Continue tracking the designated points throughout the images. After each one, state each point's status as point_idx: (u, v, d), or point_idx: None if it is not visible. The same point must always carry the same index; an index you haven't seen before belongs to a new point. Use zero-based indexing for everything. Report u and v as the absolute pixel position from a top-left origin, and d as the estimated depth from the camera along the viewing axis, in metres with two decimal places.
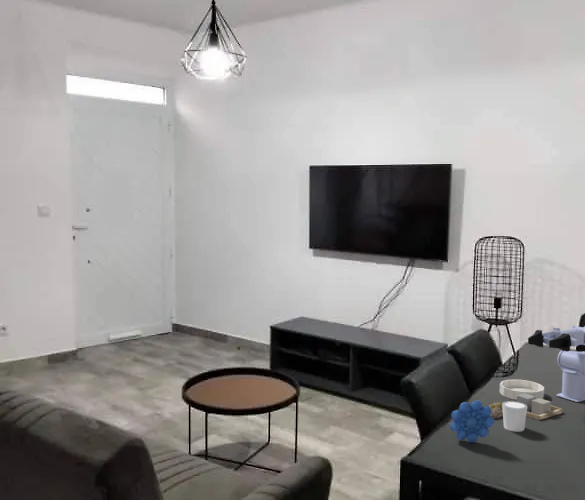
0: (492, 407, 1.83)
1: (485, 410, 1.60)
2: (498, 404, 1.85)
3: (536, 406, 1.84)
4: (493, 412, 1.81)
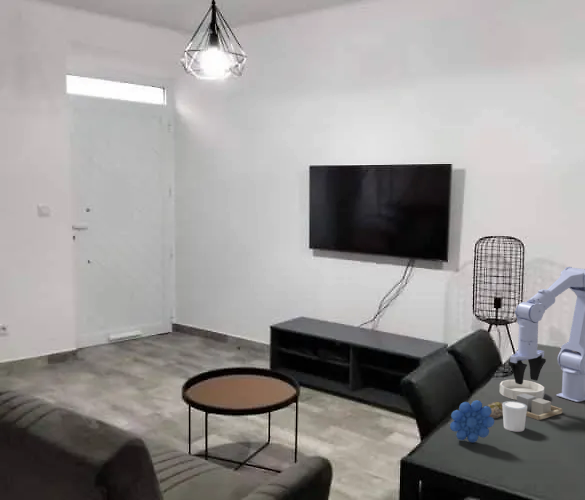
0: (491, 407, 1.84)
1: (485, 410, 1.60)
2: (497, 404, 1.85)
3: (536, 406, 1.84)
4: (492, 412, 1.81)
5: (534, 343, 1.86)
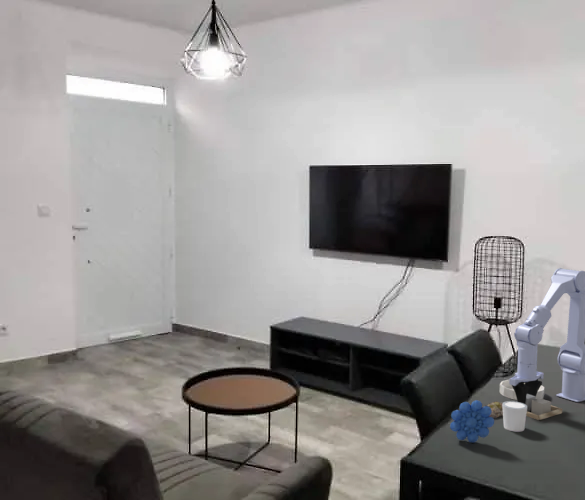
0: (490, 407, 1.84)
1: (485, 410, 1.60)
2: (496, 404, 1.85)
3: (536, 406, 1.84)
4: (491, 412, 1.81)
5: (533, 365, 1.86)
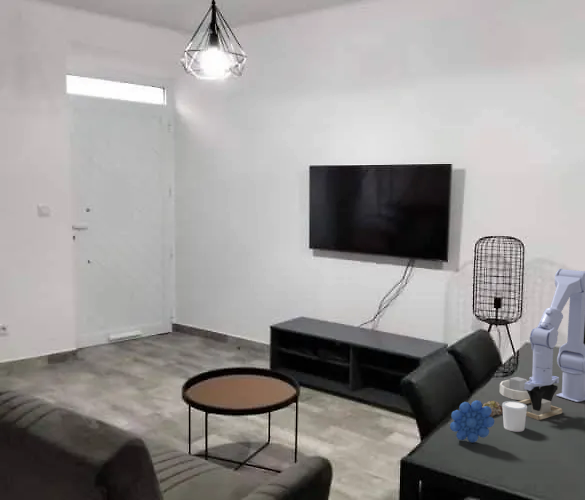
0: None
1: (485, 410, 1.60)
2: (492, 403, 1.86)
3: None
4: None
5: (549, 370, 1.81)
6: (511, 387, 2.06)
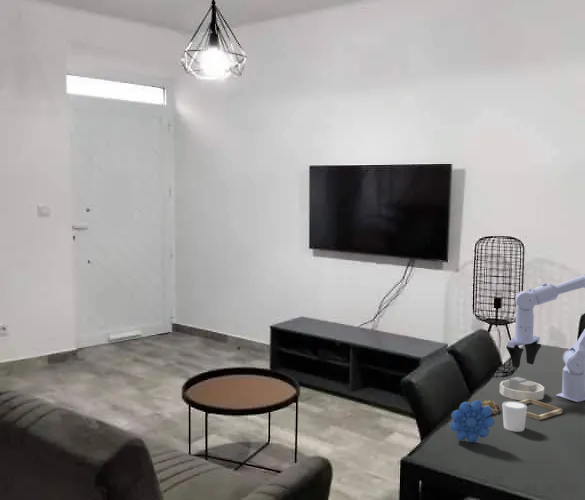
0: (482, 405, 1.85)
1: (485, 410, 1.60)
2: (488, 402, 1.87)
3: (523, 388, 1.99)
4: None
5: (530, 329, 2.00)
6: (511, 387, 2.06)
